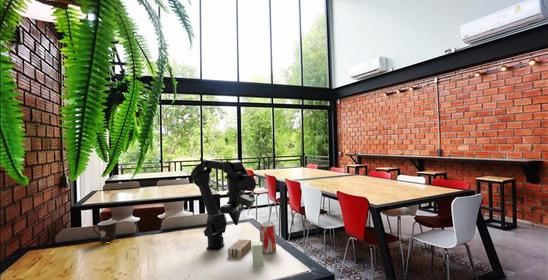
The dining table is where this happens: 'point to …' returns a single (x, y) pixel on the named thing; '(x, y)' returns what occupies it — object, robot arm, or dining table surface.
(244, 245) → the walnut block
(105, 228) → the coffee mug
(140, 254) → the dining table surface
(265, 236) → the soda can
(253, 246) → the sage block
